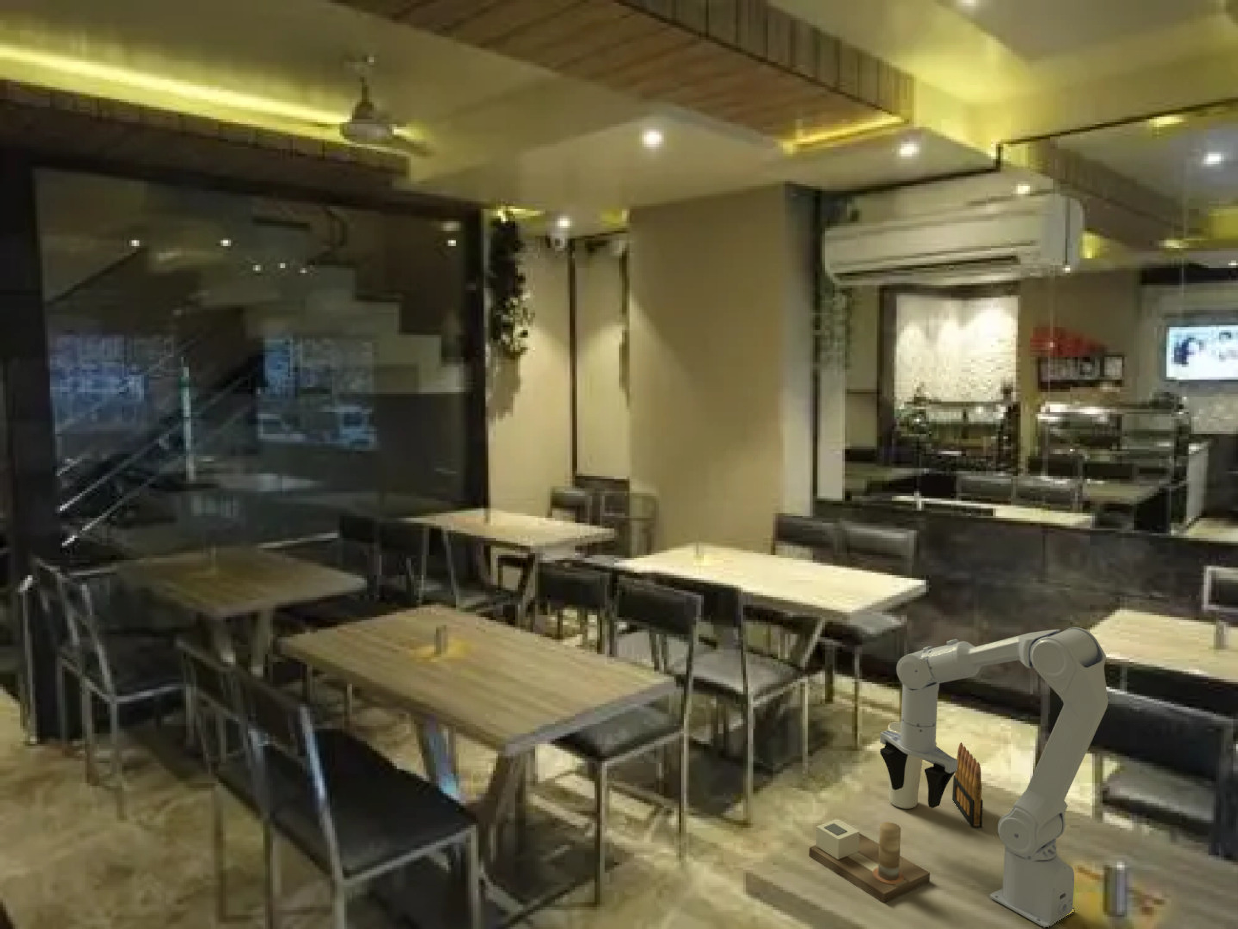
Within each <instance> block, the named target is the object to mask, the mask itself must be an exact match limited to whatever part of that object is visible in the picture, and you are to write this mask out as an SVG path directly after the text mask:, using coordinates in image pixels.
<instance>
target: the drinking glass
mask: <svg viewBox="0 0 1238 929" xmlns="http://www.w3.org/2000/svg"><path fill="white" fill-rule="evenodd" d="M887 730H889V731H891V732H894V733H898V734H901V721H894V722H890V723H889V724H888V725H887ZM922 767H923V759H920V758H918V757H915V756H911V755H908V757H907V761H906V766H905V776H904V785H903V788H900V789H897V790H894V789H892V784H891V780H890V775H889V772H888V771H887V779H888V801H889V803H890V804H891V805H893V806H894V807H897V808H899V809H903V810H904V809H914V808H916V807H917V805H918V801H919V791H920V790H919V788H920V783H921V781H920V780H921V775H922Z"/></svg>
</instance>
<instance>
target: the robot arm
mask: <svg viewBox="0 0 1238 929" xmlns="http://www.w3.org/2000/svg"><path fill="white" fill-rule="evenodd" d="M1060 631H1061V629H1048V630H1042V631H1040V630H1039V631H1036V632H1028V633H1023V634H1020V635H1017V636H1016V635H1015V636H1013V637H1008V638H1004V639H1001V640H998V641H994V642H989V643H986V644H982V645H978V646H975V645H973V644H971V643H970V642H968V641H966V640H965V641H963V640H962V641H959V640H958V639H957V638H955V639H950V640H947V641H946V645H941V646H937V647H933V646H932V645H930V646H926V647H923V648H922V650H918V651H915V652H912V653H907V654H906V655H904V656H902V657H901V658H899V660H898V661H897V664H896V675H897V678H898V679H899V681H900V683H901V685H902V690H901V691H902V692H901V714H900V715H901V717H900V718H901V720H900V722H901V734H898V733H894V732H891V731H889V730H888V729H887V730H884V731H880V735H879V736H880V738H879V743H880V744H882V745H884V747H882V748H880V751H879V754H880V755H881V757H882V760H883V762H884V763H885V766H886V768H887V773H888V772H889V775H890V780H891V784H892V789H894V790H897V789H900V788H903V785H904V776H905V766H906V761H907V757H908V755H911V756H915V757H918V758H920V759H923V760H924V761H926V762H928V763H930V764H932V766H930V767H926V768H924V773H925V776H926V783H927V804H928V807H929V808H931V809H934V808H936V807H939V806H940V805H941V801H942V798H943V795H944V792H945V789H946V787H947V786H948V784H949V782H950V781H951V779H952V777H954V775H955V772H956V771H957V765H958V760H957V758H955V757H953V756H951V755H949V754H948V753H947V752H946V751H944V750H943V749H941V748H939V747H938V744H937V742H936V741H937V740H936V739H937V717H938V715H937V714H938V699H939V698H938V697H939V691H940V684H942V683H947V682H948V683H949V682H952V681H957V680H962V679H968V678H973V677H976V676H977V674H978V673H979V672H980V670H981V667H985V666H991V665H998V664H1004V663H1008V662H1009V663H1010V662H1015V661H1020V662H1021V663H1022V665H1024V666H1025V667H1026V668H1027V669H1031V668H1033V669H1034V670H1035V671H1036V673H1038V675H1039V676H1041V678H1042V679H1043V680H1044V681H1045V682H1046V683H1047V685H1048V686H1049V687H1050V688H1051V689H1052V690H1053V691H1054V692H1055V693H1056V694H1057V695H1058V697H1059V698H1060V699H1061V702H1063V706H1062V708H1061V710H1060V712H1059V715H1058V717H1057V719H1056V721H1055V724H1054V726H1053V729H1052V731H1051V733H1050V735H1049V737H1048V739H1047V742H1046V744H1045V747H1044V748H1043V751H1042V753H1041V756H1040V758H1039V760H1038V763H1037V765H1036V767H1035V769H1034V771H1033V773H1032V776H1031V778H1030V780H1029V783H1028V785H1027V788H1026V789H1025V791H1024V792H1023V793H1022V794H1021V795H1020V796H1019V797H1018V799H1017V800H1016V801H1015V802H1014V804H1013V805H1012V808H1011V809H1010V811H1009V812H1008V813H1006V814H1004V815H1002V817H1000V818H999V821H998V824H997V832H998V836H999V838H1000V840H1001V843H1002V844H1003V846H1004V859H1003V875H1002V876H1003V878H1002V888H1000V889H997V890H996V891H993V892H992V893H990V895H989V898H990V899H992V900H993V901H995V902H997V903H999V904H1001V905H1002V906H1005V907H1006V908H1008V909H1010V910H1012V911H1013V912H1015V913H1017V914H1019V915H1021V916H1023V917H1024V918H1027V919H1028V920H1030V921H1032V922H1033V923H1036V924H1037V925H1039V926H1041V927H1042V926H1043V927H1042V928H1045V927H1048V928H1050V927H1052V926H1053V925H1055V924H1057V923H1058V922H1060V921H1062V920H1063V919H1062V918H1064V917H1065V916H1066V915H1067V914H1069V913H1070V912H1071V911H1072V909H1073V908H1074V906H1073V905H1074V890H1075V889H1074V888H1075V872H1074V871H1075V870H1074V868H1073V867H1072V866H1071V865H1070V864H1068V863H1067V862H1065V861H1064V860H1063V859H1062V858H1061V857H1060V856H1059V854H1058V853H1057V852H1058V851H1057V850H1058V849H1057V839H1058V838H1059V837H1060V836H1062V835H1063V834H1064V831H1065V830H1066V818H1065V816H1066V811H1067V809H1068V804H1067V802H1066V801H1065V799H1066V798H1067V795H1068V793H1069V790H1070V789H1071V787H1072V784H1073V782H1074V780H1075V777H1076V775H1077V773H1078V771H1079V769H1080V766H1081V765H1082V762H1083V761H1084V758H1085V756H1086V754H1087V753H1088V752H1087V751H1088V749H1089V747H1090V746H1091V743H1092V742H1093V739H1094V736H1095V734H1096V732H1097V730H1098V727H1099V726H1100V723H1101V721H1102V719H1103V717H1104V715H1105V712H1106V710H1107V708H1108V705H1109V697H1108V689H1107V683H1106V682H1107V681H1106V674H1105V664H1106V659H1107V654H1106V652H1105V651H1104V650H1103V648H1102V646H1101V644H1100V643H1099V640H1098V639H1097V638H1096V637H1095V636H1094V635H1093V633H1092V632H1090V631H1089V630H1087V629H1084V628H1082V627H1077V626H1074V627H1069V628H1066V629H1064V630H1063V631H1061V632H1060ZM1065 918H1066V917H1065ZM1065 918H1064V919H1065ZM1061 919H1062V920H1061ZM1059 920H1060V921H1059ZM1057 921H1058V922H1057ZM1056 922H1057V923H1056ZM1054 923H1055V924H1054ZM1049 926H1050V927H1049Z"/></svg>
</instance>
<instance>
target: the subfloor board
mask: <svg viewBox="0 0 1238 929" xmlns="http://www.w3.org/2000/svg"><path fill="white" fill-rule="evenodd" d="M808 851H809V852H808V854H809V857H810V858H812V859H813V860H815V861H816V862H818V863H819V864H821V865H823V866H824V867H826V868H828V869H829V870H831V871H832V872H834V873H835V874H837V875H839V876H840V877H842V878H843V879H846V880H847V881H849V882H850V883H851V884H854V886H857V888H859V889H861V890H862V891H864V892H866V893H867V894H869V895H870V896H872V897H874V898H875V899H877V900H878V901H880V902H881V903H884V904H885V903H887V902H888V901H891V900H893V899H895V898H897V897H900V896H902V895H904V894H905V893H908V892H910V891H912V890H914V889H917V888H919V887H921V886H924V884H927V883H930V879H931V872H929V871H928V870H926V869H924V868H923V867H921V866H919V865H916V863H913V862H912V861H910V860H908V859H907V858H904V857H903V856H901V855H900V860H899V878H898V879H897V880H892V881H891V880H885V879H883V878H881V877H880V876H879V875H878V862H879V843H877V842H876V841H874V840H872V839H871V838H869V837H867V836H865V835H864V834H863V833H860V832H859V851H858V852H855V853H853V854H850V855H848V856H845V857H843V858H841V859H836V858H835V857H833V856H831V855H830V854H828V853H826V852H825V851H823V850H822V849H820V848H818V847H817V846H816V844H815V845H812V846H810V847H809V850H808Z"/></svg>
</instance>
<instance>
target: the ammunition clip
mask: <svg viewBox="0 0 1238 929" xmlns="http://www.w3.org/2000/svg"><path fill="white" fill-rule="evenodd" d="M957 747H958V748H957V755H956V759H957V760H958V765H957V771H956V772H955V773H954V775H953V776H952V777H953V779H952V781H953V782H952V794H951V795H952V796H951V797H952V798H951V800H953V801H954V802H953V801H952V802H953V803H955V804H956V805H955V804H954V805H955V806H956V808H957V807H958V808H957V809H958V811H959V810H960V811H959V812H960V814H961V815H962V817H963V818H964V819H965V821H966V822H967V823H968V825H969V827H971V829H972V828H974V829H975V828H976V829H979V828H980V829H982V828H983V808H984V807H983V805H984V800H983V799H982V793H983V792H982V789H983V787H982V786H983V785H982V769H981V768H982V767H981V764H980V762H977V759H976V758H975V757H974V756H973V754H972V753H970V751H969V750H968V749H967V748H966V746H965V745H964V744H963V742H962V741H961V742H960V743H959V744H958V746H957Z"/></svg>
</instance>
